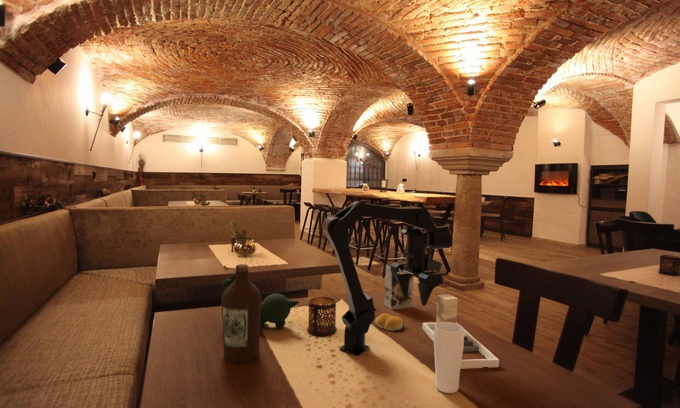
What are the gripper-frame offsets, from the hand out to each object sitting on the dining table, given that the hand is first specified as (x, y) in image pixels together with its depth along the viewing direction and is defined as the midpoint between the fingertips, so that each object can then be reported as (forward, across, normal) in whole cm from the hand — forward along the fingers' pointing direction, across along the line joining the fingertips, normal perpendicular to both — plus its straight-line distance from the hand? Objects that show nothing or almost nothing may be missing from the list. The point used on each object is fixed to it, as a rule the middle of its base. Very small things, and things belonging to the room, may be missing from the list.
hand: (414, 301), depth 118 cm
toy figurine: (+13, +31, +39) cm, 51 cm away
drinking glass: (+13, -24, +8) cm, 29 cm away
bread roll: (+14, +15, -1) cm, 20 cm away
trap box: (+13, -6, -11) cm, 18 cm away
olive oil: (+13, +12, +49) cm, 52 cm away
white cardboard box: (+13, +31, -16) cm, 37 cm away
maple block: (+13, +2, -14) cm, 19 cm away
